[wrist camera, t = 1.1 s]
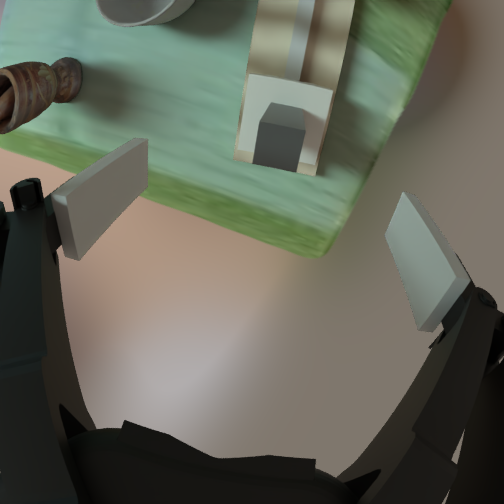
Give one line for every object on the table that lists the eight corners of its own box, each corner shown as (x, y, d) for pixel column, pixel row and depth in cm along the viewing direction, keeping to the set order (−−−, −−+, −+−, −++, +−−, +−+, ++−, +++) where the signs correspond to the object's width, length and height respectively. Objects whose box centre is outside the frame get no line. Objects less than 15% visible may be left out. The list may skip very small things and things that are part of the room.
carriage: (254, 72, 27) (225, 78, 16) (328, 87, 27) (352, 104, 16) (244, 138, 32) (212, 189, 21) (312, 152, 32) (322, 212, 21)
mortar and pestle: (73, 131, 36) (-26, 191, 20) (38, 115, 34) (-56, 167, 18) (92, 60, 29) (-25, 90, 13) (53, 50, 27) (-55, 78, 12)
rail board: (266, -25, 21) (263, -33, 19) (353, -7, 21) (359, -14, 18) (236, 154, 36) (230, 163, 33) (313, 170, 36) (315, 181, 33)
